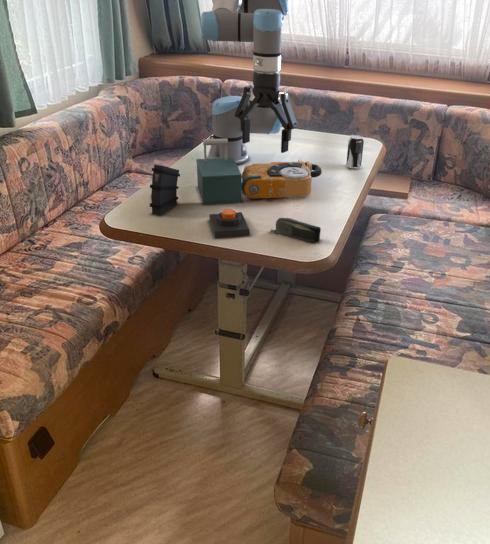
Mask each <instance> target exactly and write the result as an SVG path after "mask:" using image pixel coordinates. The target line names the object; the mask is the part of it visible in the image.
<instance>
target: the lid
mask: <svg viewBox="0 0 490 544" xmlns="http://www.w3.org/2000/svg"><path fill="white" fill-rule="evenodd" d="M202 145H203V158H197V159H195V162H196V166H197V165H198V168H199V170H200V173H201V176H202V179H212V178H231V177H242V172H241V170H240V168H239V166H238V164H236V163H235V161H234V159H233V158H227V145H228V139H213V138H205V139H202ZM211 145H225V158H214V159H209V158H207V146H211Z"/></svg>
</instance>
